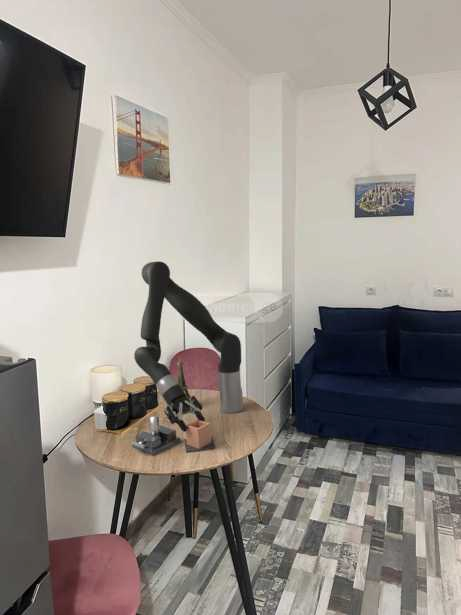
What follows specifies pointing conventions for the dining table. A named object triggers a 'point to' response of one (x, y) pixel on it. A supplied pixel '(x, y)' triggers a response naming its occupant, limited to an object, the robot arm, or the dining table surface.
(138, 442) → the vise
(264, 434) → the dining table surface
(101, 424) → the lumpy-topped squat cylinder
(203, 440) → the collar
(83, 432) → the dining table surface
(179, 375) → the eiffel tower
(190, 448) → the mat
